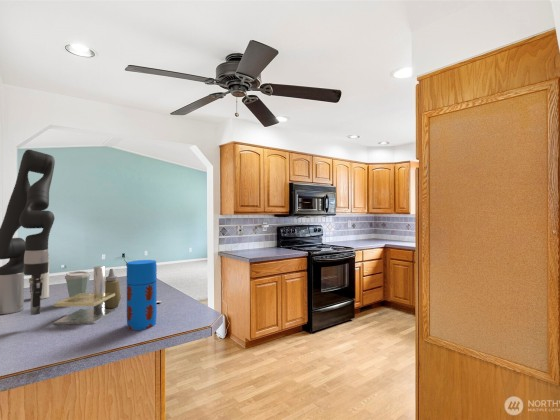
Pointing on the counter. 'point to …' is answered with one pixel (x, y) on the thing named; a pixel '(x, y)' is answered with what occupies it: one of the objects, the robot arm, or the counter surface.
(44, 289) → the paper towel roll
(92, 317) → the tan and silver stand
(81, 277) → the disposable coffee cup
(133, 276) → the thermos
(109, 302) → the squeeze bottle
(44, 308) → the counter surface
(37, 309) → the copper-capped metal rod
